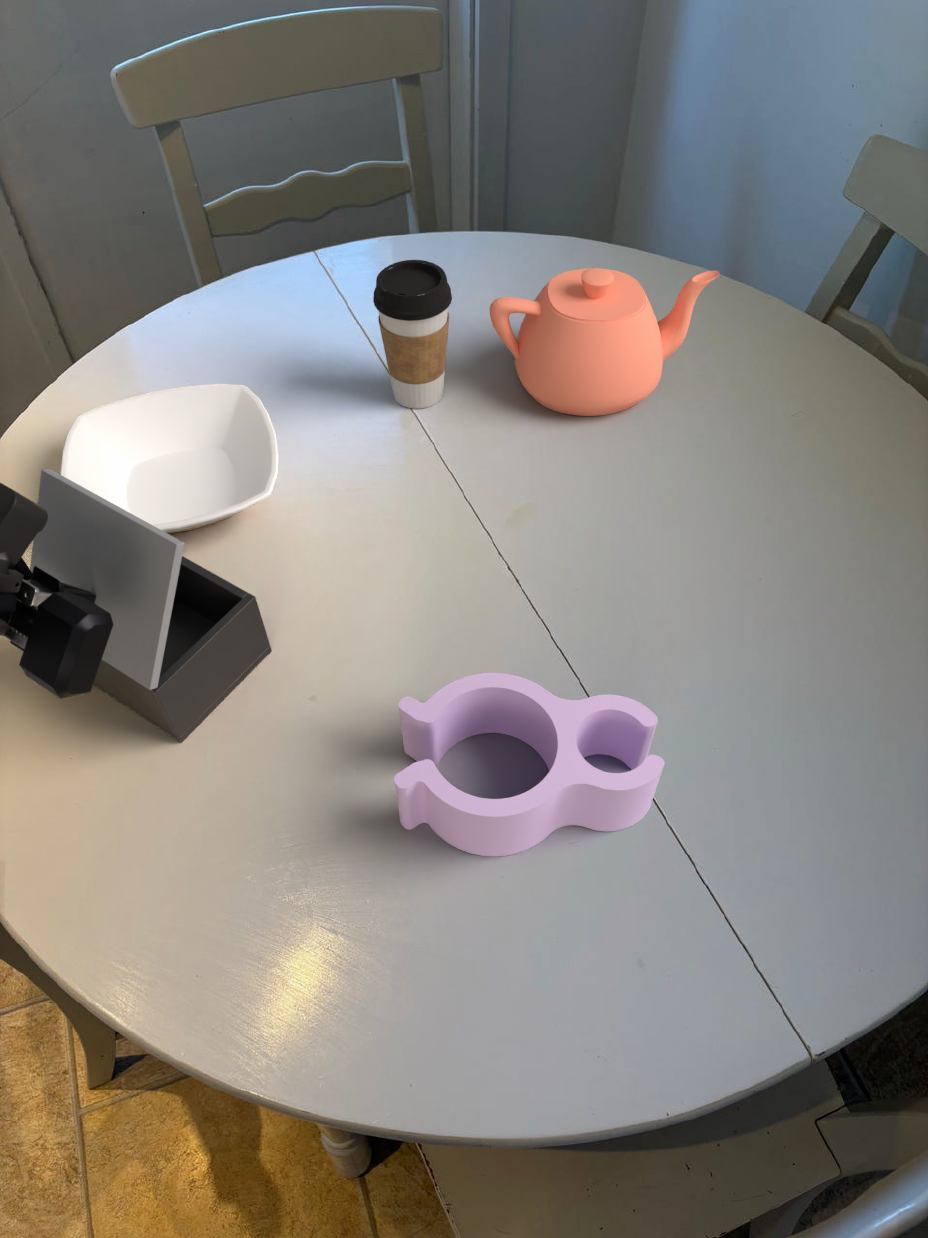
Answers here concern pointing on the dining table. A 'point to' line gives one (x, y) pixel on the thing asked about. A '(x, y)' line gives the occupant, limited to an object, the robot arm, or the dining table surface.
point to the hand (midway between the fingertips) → (91, 599)
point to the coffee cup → (414, 329)
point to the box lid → (112, 570)
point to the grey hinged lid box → (196, 654)
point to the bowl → (176, 454)
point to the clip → (554, 734)
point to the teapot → (593, 339)
